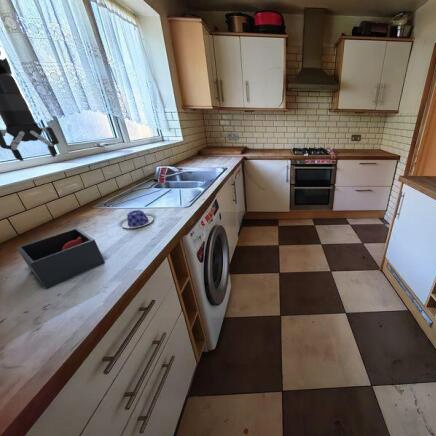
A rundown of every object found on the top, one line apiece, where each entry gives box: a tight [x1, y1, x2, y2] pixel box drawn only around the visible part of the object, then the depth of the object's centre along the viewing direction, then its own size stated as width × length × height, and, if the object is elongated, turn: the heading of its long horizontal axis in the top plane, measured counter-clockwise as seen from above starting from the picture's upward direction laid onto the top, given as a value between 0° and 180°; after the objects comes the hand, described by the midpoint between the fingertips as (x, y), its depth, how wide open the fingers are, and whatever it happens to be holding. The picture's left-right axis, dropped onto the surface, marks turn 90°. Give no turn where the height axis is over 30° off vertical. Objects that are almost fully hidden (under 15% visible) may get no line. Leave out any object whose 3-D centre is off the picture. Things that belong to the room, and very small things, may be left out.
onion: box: [62, 237, 84, 251], centre depth 75 cm, size 6×6×8 cm
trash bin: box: [16, 227, 106, 290], centre depth 72 cm, size 15×15×9 cm
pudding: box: [121, 209, 154, 229], centre depth 100 cm, size 12×12×5 cm
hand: (38, 158), depth 83 cm, fingers open, 8 cm apart
